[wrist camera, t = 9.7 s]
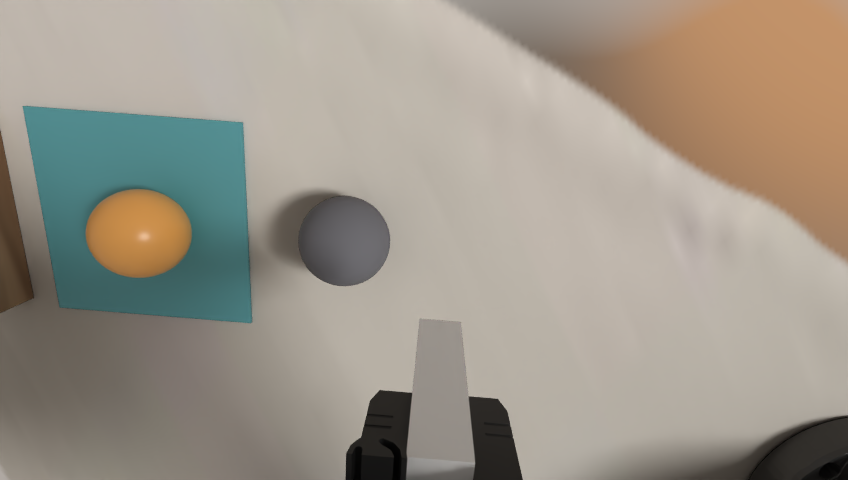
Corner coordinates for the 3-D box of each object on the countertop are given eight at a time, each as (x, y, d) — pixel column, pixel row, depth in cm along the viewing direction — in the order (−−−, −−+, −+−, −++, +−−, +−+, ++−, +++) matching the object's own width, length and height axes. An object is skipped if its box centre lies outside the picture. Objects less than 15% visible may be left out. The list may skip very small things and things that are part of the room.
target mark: (243, 122, 27) (241, 122, 27) (252, 321, 31) (250, 323, 31) (25, 106, 28) (22, 105, 27) (61, 306, 31) (59, 307, 31)
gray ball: (295, 197, 23) (309, 185, 28) (287, 295, 24) (301, 265, 29) (398, 210, 24) (392, 196, 29) (385, 303, 25) (382, 274, 30)
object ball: (64, 199, 22) (92, 181, 27) (81, 296, 24) (105, 263, 29) (184, 198, 25) (191, 181, 29) (192, 287, 26) (197, 257, 31)
